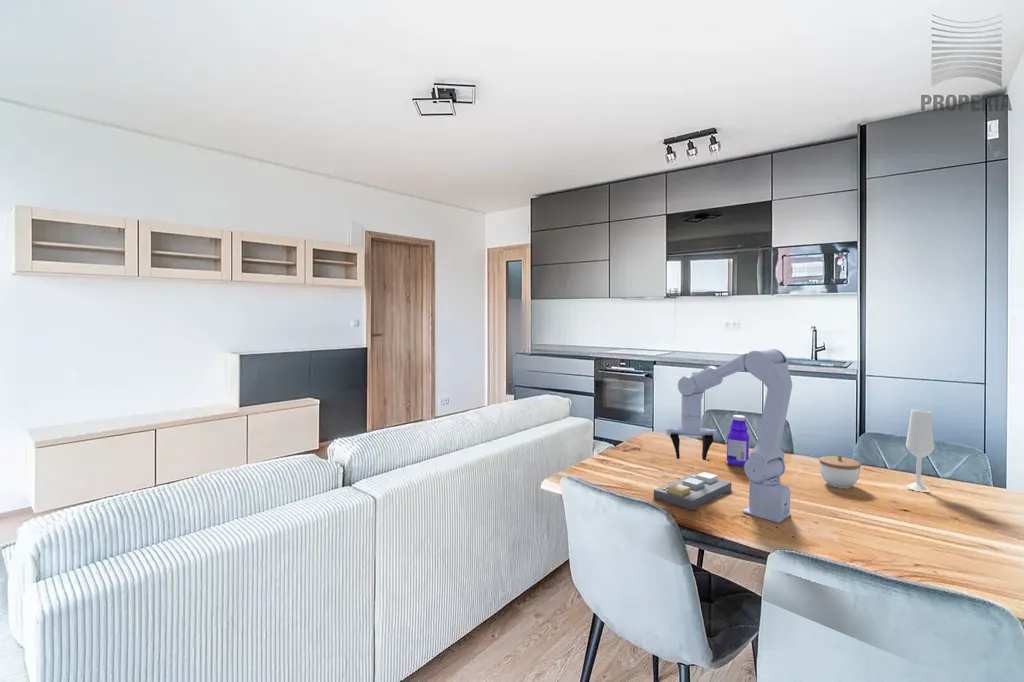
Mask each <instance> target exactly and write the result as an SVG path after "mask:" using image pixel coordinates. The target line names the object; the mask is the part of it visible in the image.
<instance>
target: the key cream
mask: <svg viewBox="0 0 1024 682" xmlns="http://www.w3.org/2000/svg"><path fill="white" fill-rule="evenodd" d="M697 474H698V475H697V476H696V479H698V480H702V481H704V482H705V483H709V484H712V483H714V482H717V481H718V479H719V478H718V477H719V476H718V474H713V473H710V472H707V471H706V472H705V471H703V472H701V473H697Z"/></svg>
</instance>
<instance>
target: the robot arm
mask: <svg viewBox="0 0 1024 682" xmlns="http://www.w3.org/2000/svg"><path fill="white" fill-rule="evenodd" d="M789 362H790V360H789V359H788V358H787V356H786V355H785V354H784V353H783V352H782V351H781V350H780V349H776V348H775V349H774V348H772V349H766V350H751V351H749V352H747V353H743V354H740V355H739V356H737V357H734V358H733V359H731V360H729V361H728V362H726V363H724V364H722V365H720V366H718V367H717V366H715V365H705V366H703V369H701V370H700V371H694V372H692V373H691V375H690V376H686V375H685V376H682V377H681V378H680V379H679V380H678V382H677V390H678V392H679V393H680V394H681V426H680V427H679V426H678V427H666V430H665V431H666V432H665V433H666V435H667V436H669V438H670V439H671V441H672V444H673V447H674V450H675V457H676V460H680V440H681V438H680V436H695V437H696V436H697V437H701V438H702V440H701V441H702V448H701V449H702V452H701V457H702V460H703V461H706V460H707V455H708V452H709V450H710V447H711V445H712V443H713V442H714V438H717V431H718V430H717V429H714V428H713V429H712V428H704V427H703V428H702V399H703V397H704V396H703V395H704V393H705V392H706V391H707V390H709V389H711V388H712V389H713V387H717V386H719V385H721V384H722V383H723V380H724V378H726V377H729V376H731V375H734V374H736V373H739V372H741V371H744V372H748V373H749V374H751V375H752V376H753V377H755V378H757V380H759V381H761V382H762V384H763V385H764V386H765V387H766V389H767V390H766V396H765V401H764V406H763V411H762V416H761V421H760V428H759V432H758V433H759V434H758V437H757V438H758V439H757V442H756V443H757V444H756V445H755V446H754V447H753V449H752V450H751V451H750V452H749V459H748V460H747V461H746V463H745V465H744V466H743V470H744V473H745V475H746V476H747V478H748V481H749V489H748V490H749V497H748V507H746V508H744V509H743V510H742V512H743V513H744V514H748V515H750V516H754V517H758V518H761V519H764V520H768V521H772V522H775V523H781V522H782V521H784V520H786V519H787V518H788V517H790V516H791V515H792V513H791V489H790V487H789V486H787V485H784V484H782V483H781V482H780V481H781V476H783V475H784V474H785V472H786V464H785V453H784V451H783V450H782V449H781V443H782V439H783V434H784V430H785V424H786V418H787V414H788V409H789V405H790V399H791V394H792V389H793V382H792V377H791V374H790V370H789Z"/></svg>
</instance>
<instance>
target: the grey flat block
mask: <svg viewBox="0 0 1024 682" xmlns="http://www.w3.org/2000/svg"><path fill="white" fill-rule="evenodd" d="M698 474H699V473H696V472H694V473H691V474H689V475H687V476H684V477H681V478H679V479H676V480H674V481H672V482H670V483H667V484H664V485H662V486H659V487H657V488H655V489H653V499H655V498H656V499H655V500H658V499H659V500H658V501H661V500H662V501H661V502H664V501H665V503H668V504H671V505H674V506H678V507H680V508H684V509H686V510H689V511H693V510H694V508H695V509H697V508H698V507H701V506H703V505H705V504H707V503H709V502H711V501H713V500H715V499H717V498H719V497H721V496H723V495H725V494H727V493H729V492H731V491H732V482H731V481H727V480H724V479H720V478H718V481H717V482H714V483H712V484H709V483H705V482H704V487H703V488H701V489H699V490H694V489H691V488H690V494H688V495H686V496H683V497H680V496H677V495H674V494H671V493H668V487H669V486H671V485H674V484H680V485H683V480H686V479H688V478H694V479H696V476H697V475H698ZM722 494H723V495H722ZM720 495H721V496H720ZM718 496H719V497H718ZM716 497H717V498H716ZM714 498H715V499H714ZM706 502H707V503H706Z"/></svg>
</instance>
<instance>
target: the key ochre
mask: <svg viewBox="0 0 1024 682" xmlns="http://www.w3.org/2000/svg"><path fill="white" fill-rule="evenodd" d="M668 493H671V494H674V495H677V496H680V497H683V496H686V495H688V494H690V487H687V486H683V485H680V484H674V485H671V486H669V487H668Z"/></svg>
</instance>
